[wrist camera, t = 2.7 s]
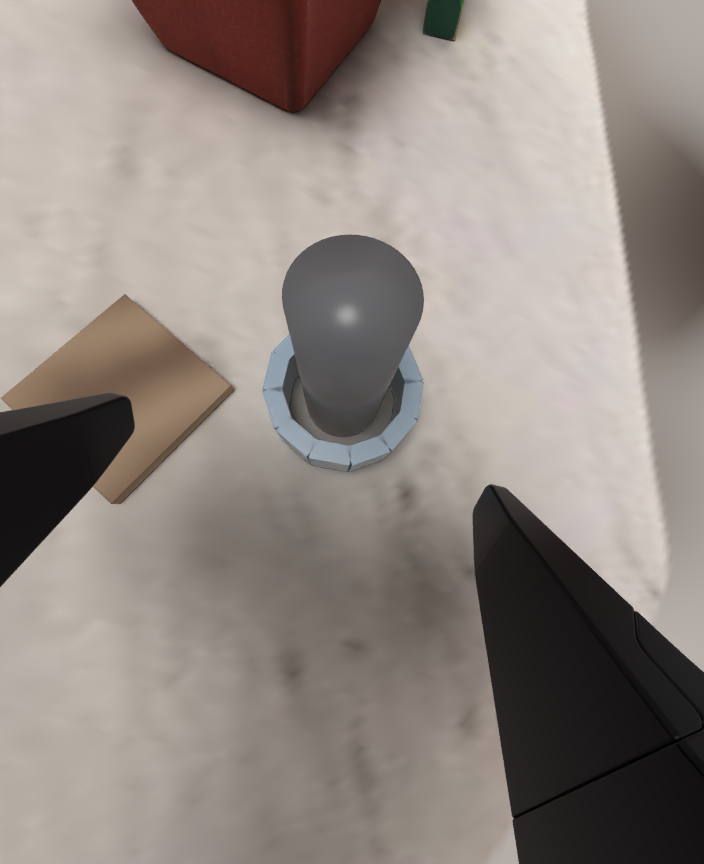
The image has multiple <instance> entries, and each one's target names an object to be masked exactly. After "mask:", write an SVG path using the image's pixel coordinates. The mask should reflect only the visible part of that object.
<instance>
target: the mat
mask: <svg viewBox="0 0 704 864" xmlns="http://www.w3.org/2000/svg"><path fill="white" fill-rule="evenodd" d="M233 391H234V389H233V388H232V386H231V385H230V384H228V383H227V382H226V381H225V380H224V379H223V378H222V377H220V376H219V375H218V374H217V373H216V372H215V371H213V370H212V369H211V368H210V367H209V366H208V365H206V364H205V363H204V362H203V361H202V360H201V359H200V358H198V357H197V356H196V355H195V354H194V353H193V352H191V351H190V350H189V349H188V348H187V347H186V346H184V345H183V344H182V343H181V342H180V341H179V340H178V339H176V338H175V337H174V336H173V335H172V334H171V333H169V332H168V331H167V330H166V329H165V328H164V327H162V326H161V325H160V324H159V323H158V322H157V321H156V320H154V319H153V318H152V317H151V316H150V315H149V314H147V313H146V312H145V311H144V310H143V309H142V308H140V307H139V306H138V305H137V304H136V303H135V302H134V301H132V300H131V299H130V298H129V297H128V296H127V295H125V294H124V295H123V296H122V297H121V298H120V299H118V300H117V301H116V302H115V303H114V304H112V305H111V306H110V307H109V308H108V309H106V310H105V311H104V312H103V313H102V314H100V315H99V316H98V317H97V318H96V319H95V320H93V321H92V322H91V323H90V324H89V325H87V326H86V327H85V328H84V329H83V330H81V331H80V332H79V333H78V334H77V335H75V336H74V337H73V338H72V339H71V340H69V341H68V342H67V343H66V344H65V345H64V346H62V347H61V348H60V349H59V350H58V351H56V352H55V353H54V354H53V355H52V356H50V357H49V358H48V359H47V360H46V361H44V362H43V363H42V364H41V365H40V366H38V367H37V368H36V369H35V370H34V371H33V372H31V373H30V374H29V375H28V376H27V377H25V378H24V379H23V380H22V381H21V382H19V383H18V384H17V385H16V386H15V387H13V388H12V389H11V390H10V391H9V392H7V393H6V394H5V395H4V396H3V397H2V398H1V399H2V400H3V401H4V402H5V403H6V404H7V405H8V406H9V407H10V408H11V409H12V410H17V409H22V408H27V407H33V406H38V405H44V404H49V403H55V402H60V401H66V400H71V399H77V398H82V397H88V396H93V395H99V394H104V393H115V394H119V395H124V396H127V397H128V398H129V399H130V400H131V404H132V410H133V416H134V422H135V429H134V432H133V434H132V436H131V437H130V438H129V440H128V441H127V442H126V444H125V445H124V447H123V448H122V449H121V451H120V452H119V453H118V455H117V456H116V457H115V459H114V460H113V461H112V463H111V464H110V465H109V467H108V468H107V469H106V471H105V472H104V473H103V475H102V476H101V477H100V479H99V480H98V481H97V482H96V483H95V485H94V486H93V487H94V488H95V489H96V490H97V491H98V492H99V493H100V494H101V495H102V496H103V497H104V498H106V499H107V500H108V501H109V502H110V503H111V504H120V503H121V502H122V501H123V500H124V499H125V498H126V497H127V496H128V495H129V494H130V493H131V492H132V491H133V490H134V489H135V488H136V487H137V486H138V485H139V484H140V483H141V482H142V481H143V480H144V479H145V478H146V477H147V476H148V475H149V474H150V473H151V472H152V471H153V470H154V469H155V468H157V467H158V466H159V465H160V464H161V463H162V462H163V461H164V460H165V459H166V458H167V457H168V456H169V455H170V454H171V453H172V452H173V451H174V450H175V449H176V448H177V447H178V446H179V445H180V444H181V443H182V442H183V441H184V440H185V439H186V438H187V437H188V436H189V435H190V434H191V433H192V432H193V431H194V430H195V429H196V428H197V427H198V426H199V425H200V424H201V423H202V422H203V421H204V420H205V419H206V418H207V417H208V416H209V415H210V414H211V413H212V412H213V411H214V410H215V409H216V408H217V407H218V406H219V405H220V404H221V403H222V402H223V401H224V400H225V399H226V398H227V397H228V396H229V395H230V394H231V393H232V392H233Z"/></svg>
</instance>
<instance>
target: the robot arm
mask: <svg viewBox="0 0 704 864" xmlns="http://www.w3.org/2000/svg"><path fill="white" fill-rule="evenodd" d="M134 429H135V422H134V416H133V410H132V404H131V400H130V399H129V398H128V397H127V396H124V395H119V394H115V393H104V394H99V395H93V396H88V397H82V398H77V399H71V400H66V401H60V402H55V403H49V404H44V405H38V406H33V407H27V408H22V409H17V410H11V411H6V412H0V587H1V586H2V585H3V584H4V583H5V582H6V580H7V579H8V578H9V577H10V576H11V575H12V574H13V573H14V572H15V571H16V570H17V568H18V567H19V566H20V565H21V564H22V563H23V562H24V561H25V560H26V559H27V558H28V557H29V555H30V554H31V553H32V552H33V551H34V550H35V549H36V548H37V547H38V546H39V545H40V544H41V542H42V541H43V540H44V539H45V538H46V537H47V536H48V535H49V534H50V533H51V532H52V530H53V529H54V528H55V527H56V526H57V525H58V524H59V523H60V522H61V521H62V520H63V519H64V517H65V516H66V515H67V514H68V513H69V512H70V511H71V510H72V509H73V508H74V507H75V506H76V504H77V503H78V502H79V501H80V500H81V499H82V498H83V497H84V496H85V495H86V494H87V492H88V491H89V490H90V489H91V488H92V487H93V486H94V485H95V483H96V482H97V481H98V480H99V479H100V477H101V476H102V475H103V473H104V472H105V471H106V469H107V468H108V467H109V465H110V464H111V463H112V461H113V460H114V459H115V457H116V456H117V455H118V453H119V452H120V451H121V449H122V448H123V447H124V445H125V444H126V442H127V441H128V440H129V438H130V437H131V436H132V434H133V432H134ZM473 543H474V567H475V578H476V585H477V591H478V598H479V604H480V611H481V617H482V624H483V630H484V637H485V643H486V650H487V656H488V663H489V669H490V676H491V682H492V689H493V695H494V702H495V708H496V715H497V721H498V728H499V734H500V741H501V747H502V754H503V760H504V767H505V773H506V780H507V786H508V793H509V799H510V806H511V812H512V817H513V818H514V819H513V827H514V834H515V840H516V847H517V853H518V859H519V864H704V672H703V671H702V670H700V669H699V668H698V667H697V666H696V665H695V664H694V663H693V662H691V661H690V660H689V659H688V658H687V657H686V656H685V655H684V654H682V653H681V652H680V651H679V650H678V649H677V648H676V647H675V646H674V645H673V644H672V643H670V642H669V641H668V640H667V639H666V638H665V637H664V636H663V635H662V634H661V633H660V632H659V631H657V630H656V629H655V628H654V627H653V626H652V625H651V624H650V623H649V622H648V621H647V620H646V619H645V618H644V617H643V616H642V615H641V614H639V613H638V612H637V611H634V609H633V607H632V606H631V605H630V604H629V603H628V602H627V601H626V600H624V599H623V598H622V597H621V596H620V595H619V594H618V593H617V592H616V591H615V590H614V589H613V588H612V587H611V586H610V585H609V584H607V583H606V582H605V581H604V580H603V579H602V578H601V577H600V576H599V575H598V574H597V573H596V572H595V571H594V570H593V569H592V568H590V567H589V566H588V565H587V564H586V563H585V562H584V561H583V560H582V559H581V558H580V557H579V556H578V555H577V554H576V553H575V552H573V551H572V550H571V549H570V548H569V547H568V546H567V545H566V544H565V543H564V542H563V541H562V540H561V539H560V538H559V537H558V536H556V535H555V534H554V533H553V532H552V531H551V530H550V529H549V528H548V527H547V526H546V525H545V524H544V523H543V522H542V521H541V520H539V519H538V518H537V517H536V516H535V515H534V514H533V513H532V512H531V511H530V510H529V509H528V508H527V507H526V506H525V505H524V504H523V503H521V502H520V501H519V500H518V499H517V498H516V497H515V496H514V495H513V494H512V493H511V492H510V491H509V490H508V489H506V488H504V487H500V486H496V485H492V484H490V485H488V486H487V487H486V488H485V489H484V491H483V493H482V495H481V496H480V498H479V500H478V502H477V504H476V505H475V507H474V510H473Z"/></svg>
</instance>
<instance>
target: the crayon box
mask: <svg viewBox="0 0 704 864" xmlns="http://www.w3.org/2000/svg"><path fill="white" fill-rule="evenodd" d="M463 4H464V0H428V4H427V9H426V15H425V21H424V28H423V33H424V34H426V35H431V36H435V37H440V38H443V39H448V40H453V41H454V40H455V38H456V32H457V28H458V24H459V20H460V16H461V12H462V8H463Z"/></svg>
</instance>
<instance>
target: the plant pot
mask: <svg viewBox="0 0 704 864" xmlns="http://www.w3.org/2000/svg"><path fill="white" fill-rule="evenodd" d="M132 1H133V3H134V4H135V6H136V7H137V9H138V10H139V12H140V13H141V15H142V16H143V17H144V19H145V20H146V22H147V23H148V25H149V26H150V27H151V29H152V30H153V31H154V33H155V34H156V36H157V37H158V38H159V40H160V41H161V42H162V44H163V45H164V46H165V47H166V48H167V49H169V50H171V51H173V52H175V53H176V54H178V55H180V56H182V57H184V58H186V59H188V60H190V61H192V62H194V63H196V64H198V65H200V66H201V67H203V68H205V69H207V70H209V71H211V72H213V73H215V74H217V75H219V76H221V77H223V78H225V79H227V80H229V81H231V82H233V83H235V84H237V85H238V86H240V87H242V88H244V89H246V90H248V91H250V92H252V93H254V94H256V95H258V96H259V97H261V98H263V99H265V100H267V101H269V102H271V103H273V104H275V105H277V106H279V107H281V108H283V109H285V110H287V111H299V110H302V109H303V108H304V107H305V106H306V105H307V104H308V103H309V101H310V100H311V99H312V98H313V96H314V95H315V94H316V93H317V91H318V90H319V89H320V88H321V86H322V85H323V84H324V83H325V81H326V80H327V79H328V78H329V76H330V75H331V74H332V73H333V71H334V70H335V69H336V68H337V66H338V65H339V64H340V63H341V62H342V60H343V59H344V58H345V57H346V55H347V54H348V53H349V52H350V50H351V49H352V48H353V47H354V46H355V44H356V43H357V42H358V41H359V39H360V38H361V37H362V36H363V34H364V33H365V32H366V31H367V29H368V28H369V27H370V26H371V24H372V23H373V21H374V19H375V16H376V13H377V10H378V8H379V5H380V2H381V0H132Z"/></svg>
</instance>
